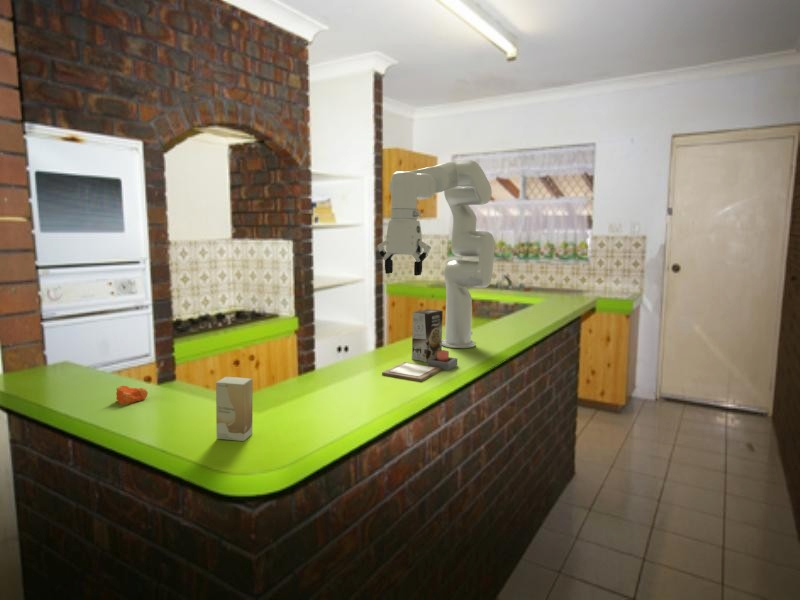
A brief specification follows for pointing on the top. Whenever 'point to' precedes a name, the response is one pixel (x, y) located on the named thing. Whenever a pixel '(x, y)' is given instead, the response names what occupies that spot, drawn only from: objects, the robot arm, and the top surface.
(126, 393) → the rock
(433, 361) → the button collar
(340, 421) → the top surface
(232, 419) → the skincare box
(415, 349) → the coffee box
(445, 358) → the button
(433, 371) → the board
